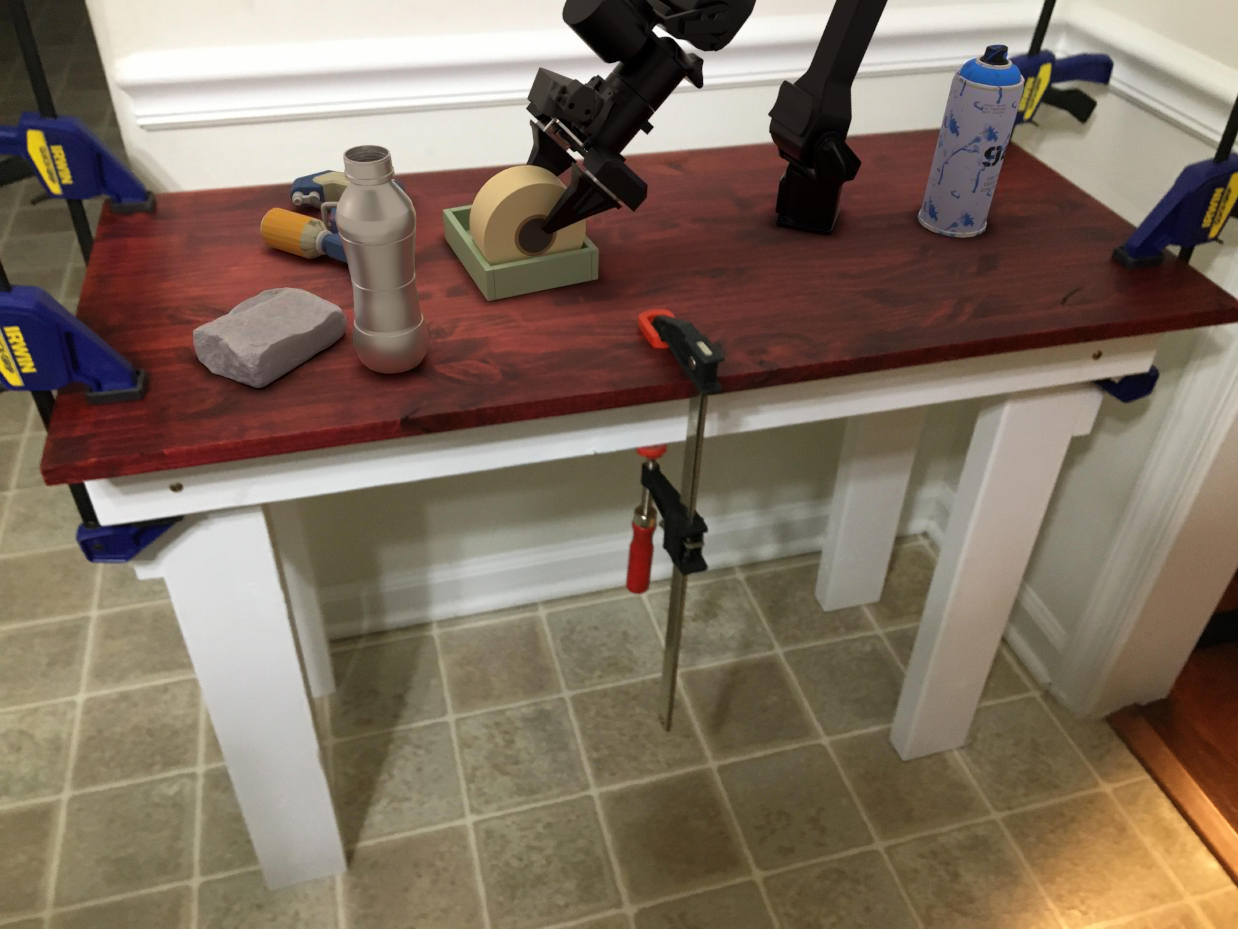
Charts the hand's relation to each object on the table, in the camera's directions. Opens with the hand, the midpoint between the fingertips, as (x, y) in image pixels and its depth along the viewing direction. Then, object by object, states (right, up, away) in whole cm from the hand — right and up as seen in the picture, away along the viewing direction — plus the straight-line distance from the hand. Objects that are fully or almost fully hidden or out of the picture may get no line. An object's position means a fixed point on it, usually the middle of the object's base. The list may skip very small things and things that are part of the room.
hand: (530, 214), depth 102 cm
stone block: (-24, -14, -8) cm, 29 cm away
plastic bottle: (-12, -16, -9) cm, 22 cm away
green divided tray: (-2, -3, +7) cm, 7 cm away
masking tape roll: (0, -1, +1) cm, 1 cm away
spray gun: (-22, 0, +10) cm, 24 cm away
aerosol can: (+48, +3, +17) cm, 51 cm away
